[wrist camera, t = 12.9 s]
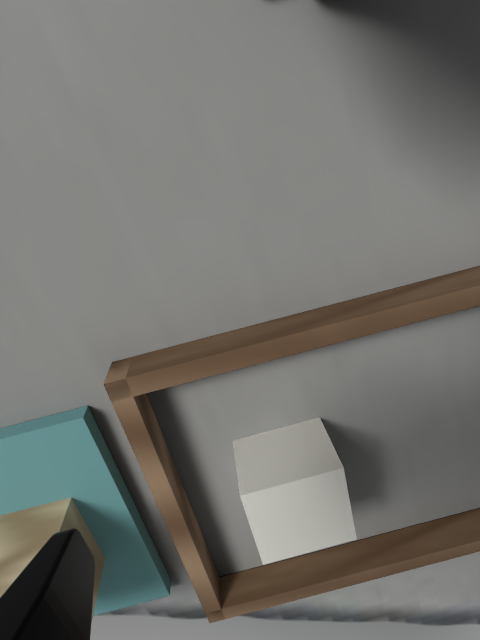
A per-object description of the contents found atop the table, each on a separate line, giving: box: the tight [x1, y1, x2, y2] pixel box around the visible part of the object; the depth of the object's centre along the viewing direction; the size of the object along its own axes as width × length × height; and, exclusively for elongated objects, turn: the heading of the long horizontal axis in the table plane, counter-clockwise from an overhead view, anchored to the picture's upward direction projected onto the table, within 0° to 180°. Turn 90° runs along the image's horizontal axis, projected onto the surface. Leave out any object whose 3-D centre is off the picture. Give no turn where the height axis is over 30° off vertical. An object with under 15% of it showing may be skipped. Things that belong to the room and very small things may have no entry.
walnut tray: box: [104, 266, 480, 623], centre depth 22 cm, size 18×25×2 cm
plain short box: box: [233, 417, 357, 565], centre depth 21 cm, size 5×5×4 cm
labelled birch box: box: [0, 497, 105, 622], centre depth 20 cm, size 5×5×6 cm
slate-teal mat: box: [0, 406, 171, 616], centre depth 23 cm, size 14×10×1 cm
